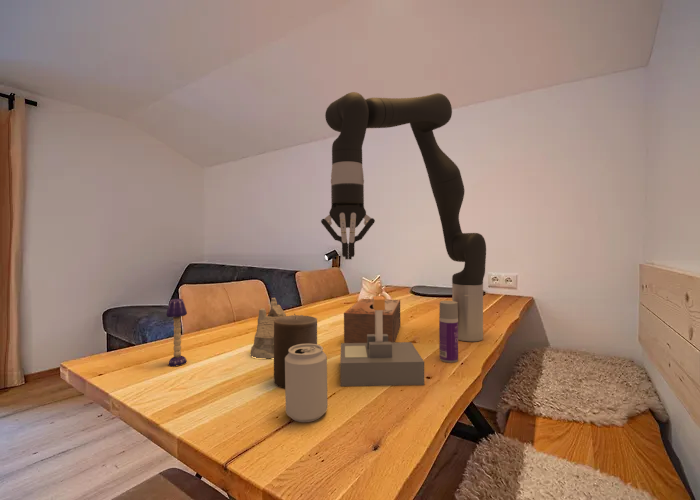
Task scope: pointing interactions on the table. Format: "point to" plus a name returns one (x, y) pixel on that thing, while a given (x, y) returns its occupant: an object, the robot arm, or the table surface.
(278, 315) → the ceramic cottage
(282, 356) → the pillar candle
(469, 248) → the robot arm
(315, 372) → the can
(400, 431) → the table surface
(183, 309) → the toy lamp
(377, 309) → the breaker lever
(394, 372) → the box
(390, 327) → the tissue box cover
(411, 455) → the table surface
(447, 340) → the container
